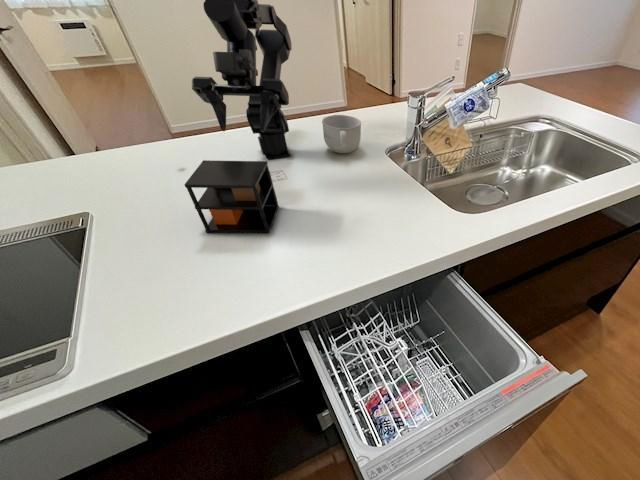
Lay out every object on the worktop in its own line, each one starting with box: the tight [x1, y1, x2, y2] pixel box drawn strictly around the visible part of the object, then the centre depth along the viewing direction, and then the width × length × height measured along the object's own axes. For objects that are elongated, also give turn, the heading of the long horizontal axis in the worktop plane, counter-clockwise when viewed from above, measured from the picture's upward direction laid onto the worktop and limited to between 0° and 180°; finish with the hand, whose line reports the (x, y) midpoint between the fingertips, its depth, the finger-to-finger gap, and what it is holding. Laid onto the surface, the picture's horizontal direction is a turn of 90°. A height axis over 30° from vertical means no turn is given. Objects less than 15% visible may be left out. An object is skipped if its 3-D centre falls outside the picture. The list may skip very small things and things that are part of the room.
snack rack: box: [183, 159, 280, 234], centre depth 72 cm, size 10×13×11 cm
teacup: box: [321, 114, 362, 154], centre depth 98 cm, size 14×11×8 cm
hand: (242, 130), depth 75 cm, fingers open, 8 cm apart
